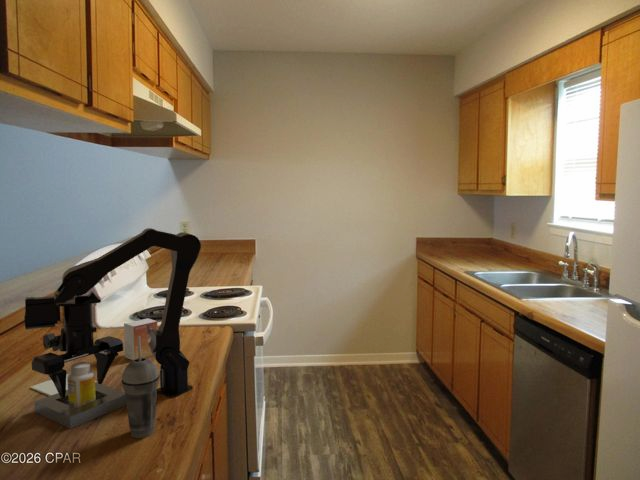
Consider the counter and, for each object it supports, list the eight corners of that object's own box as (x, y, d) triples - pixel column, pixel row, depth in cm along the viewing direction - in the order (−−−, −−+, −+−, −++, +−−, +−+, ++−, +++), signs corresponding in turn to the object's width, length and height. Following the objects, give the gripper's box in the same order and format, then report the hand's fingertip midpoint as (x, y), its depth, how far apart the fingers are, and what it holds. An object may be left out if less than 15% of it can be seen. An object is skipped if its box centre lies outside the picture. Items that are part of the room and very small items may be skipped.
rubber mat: (97, 382, 125) (97, 381, 125) (54, 398, 116) (54, 396, 116) (72, 374, 131) (72, 372, 131) (30, 388, 122) (30, 386, 122)
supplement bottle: (99, 402, 114) (97, 360, 113) (90, 413, 108) (88, 368, 107) (74, 403, 113) (72, 360, 112) (64, 414, 108) (62, 369, 107)
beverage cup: (124, 444, 95) (120, 345, 93) (122, 428, 101) (119, 335, 99) (162, 437, 98) (159, 340, 96) (159, 421, 104) (156, 331, 102)
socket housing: (128, 403, 113) (128, 393, 113) (70, 428, 101) (70, 417, 101) (92, 390, 120) (92, 380, 120) (34, 412, 109) (34, 401, 108)
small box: (134, 361, 141) (132, 326, 140) (124, 357, 144) (123, 323, 143) (158, 354, 147) (157, 320, 146) (149, 350, 150) (147, 317, 149)
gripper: (95, 310, 121) (98, 370, 122) (16, 327, 105) (20, 397, 107) (123, 316, 115) (126, 379, 117) (44, 336, 99) (48, 409, 101)
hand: (82, 390), depth 110 cm, fingers open, 9 cm apart
